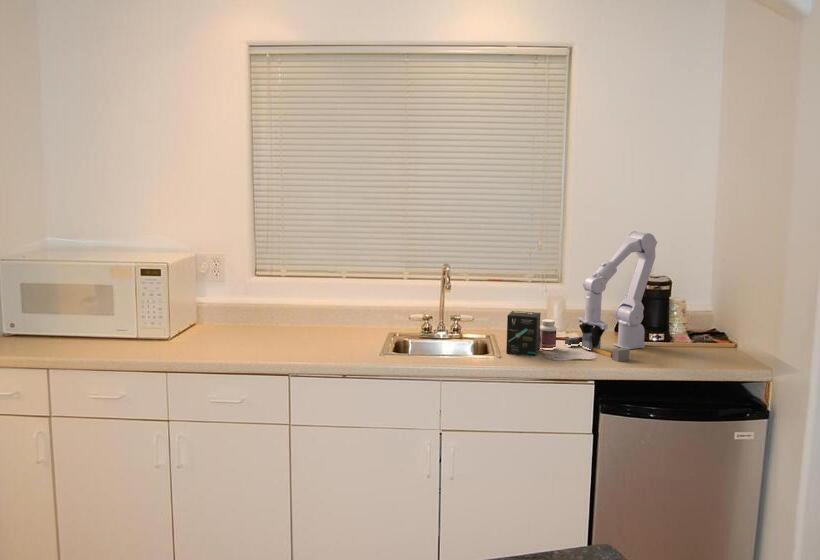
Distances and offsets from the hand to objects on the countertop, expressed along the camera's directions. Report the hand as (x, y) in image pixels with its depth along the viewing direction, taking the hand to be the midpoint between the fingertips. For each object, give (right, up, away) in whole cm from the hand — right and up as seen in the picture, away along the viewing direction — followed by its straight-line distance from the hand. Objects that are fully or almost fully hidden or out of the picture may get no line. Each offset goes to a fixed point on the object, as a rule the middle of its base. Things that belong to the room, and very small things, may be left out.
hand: (591, 344), depth 269 cm
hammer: (+2, -3, -4) cm, 5 cm away
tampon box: (-26, -3, -5) cm, 27 cm away
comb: (-3, -1, +7) cm, 7 cm away
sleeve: (0, -2, 0) cm, 2 cm away
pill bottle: (-17, -2, 0) cm, 17 cm away
